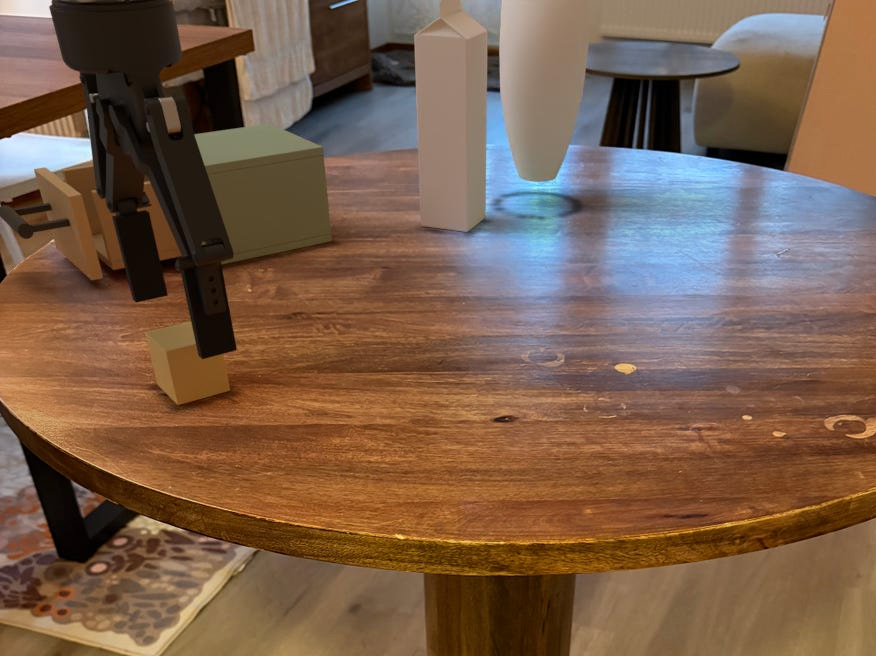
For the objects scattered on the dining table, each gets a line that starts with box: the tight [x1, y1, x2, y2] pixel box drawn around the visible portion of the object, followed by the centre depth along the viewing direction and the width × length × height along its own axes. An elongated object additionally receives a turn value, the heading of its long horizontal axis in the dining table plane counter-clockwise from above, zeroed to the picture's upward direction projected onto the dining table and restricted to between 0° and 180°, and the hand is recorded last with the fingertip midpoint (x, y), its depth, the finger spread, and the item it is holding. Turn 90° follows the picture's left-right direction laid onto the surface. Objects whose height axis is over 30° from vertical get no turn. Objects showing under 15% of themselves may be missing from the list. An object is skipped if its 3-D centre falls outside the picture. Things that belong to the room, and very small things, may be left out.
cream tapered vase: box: [498, 0, 591, 183], centre depth 107 cm, size 10×10×22 cm
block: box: [144, 320, 231, 406], centre depth 74 cm, size 4×4×4 cm
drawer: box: [0, 163, 182, 281], centre depth 94 cm, size 19×11×8 cm, turn 126°
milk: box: [413, 0, 488, 233], centre depth 101 cm, size 6×6×22 cm
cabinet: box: [194, 123, 333, 266], centre depth 100 cm, size 16×13×10 cm
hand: (182, 324), depth 71 cm, fingers open, 13 cm apart
